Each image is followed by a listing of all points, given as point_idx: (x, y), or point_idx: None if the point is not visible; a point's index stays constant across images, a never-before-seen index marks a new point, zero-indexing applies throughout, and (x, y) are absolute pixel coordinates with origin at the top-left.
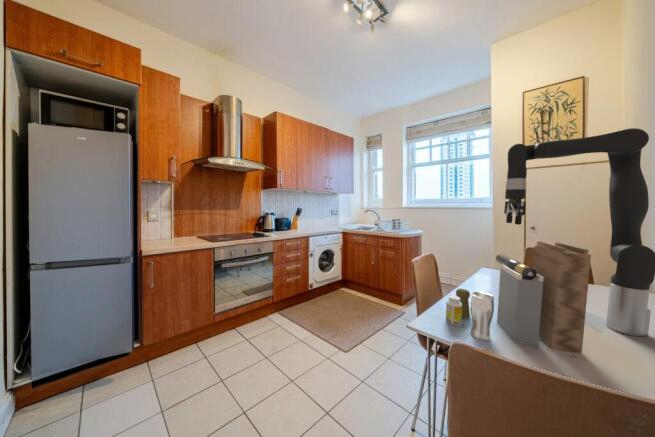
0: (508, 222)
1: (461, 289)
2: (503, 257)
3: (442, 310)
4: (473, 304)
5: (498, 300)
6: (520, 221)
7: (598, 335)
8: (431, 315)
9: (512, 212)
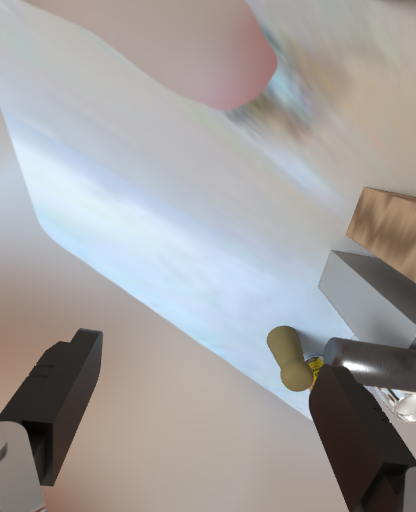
0: (99, 365)
1: (298, 386)
2: (386, 387)
3: (261, 366)
4: (402, 406)
5: (339, 314)
6: (375, 410)
7: (396, 84)
8: (284, 390)
9: (43, 508)
